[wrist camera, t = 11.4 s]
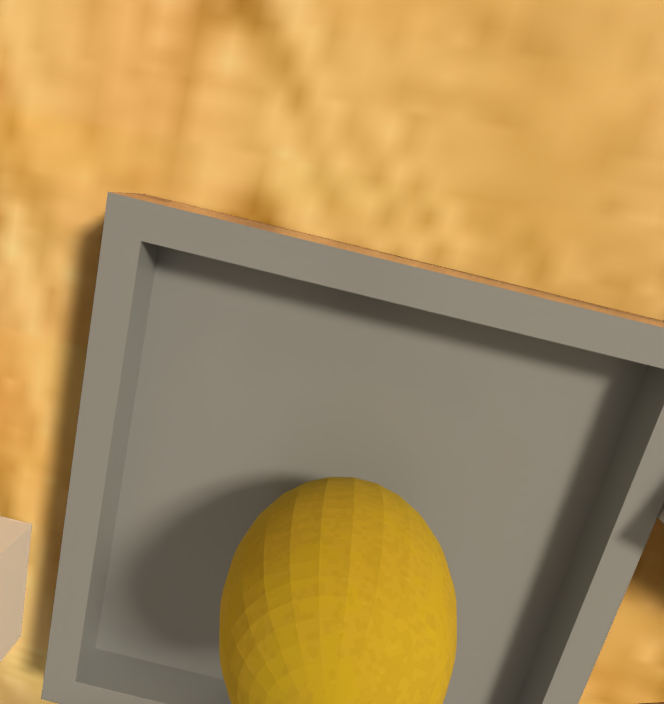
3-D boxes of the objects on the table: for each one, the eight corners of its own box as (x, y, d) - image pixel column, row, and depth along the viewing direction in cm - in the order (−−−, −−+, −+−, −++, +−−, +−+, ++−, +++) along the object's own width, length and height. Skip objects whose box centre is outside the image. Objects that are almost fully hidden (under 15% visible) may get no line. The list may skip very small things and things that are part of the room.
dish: (144, 193, 17) (108, 192, 14) (680, 325, 17) (731, 343, 14) (77, 643, 21) (40, 698, 18) (511, 749, 21) (529, 818, 18)
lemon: (393, 618, 19) (411, 914, 11) (232, 557, 18) (132, 812, 11) (466, 473, 17) (547, 691, 9) (292, 404, 17) (229, 570, 9)
